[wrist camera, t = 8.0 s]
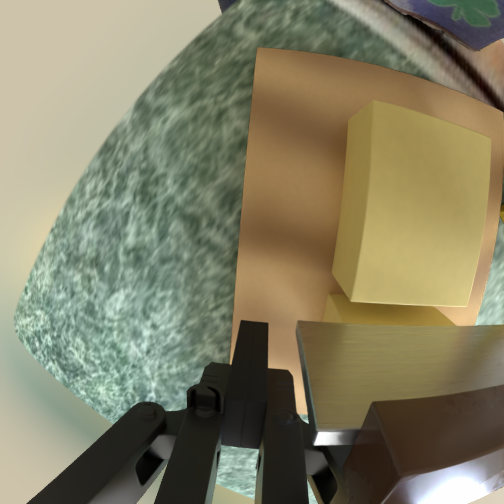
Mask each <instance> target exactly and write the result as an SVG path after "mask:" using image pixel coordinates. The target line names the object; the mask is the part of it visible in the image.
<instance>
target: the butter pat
mask: <svg viewBox="0 0 504 504" xmlns="http://www.w3.org/2000/svg"><path fill="white" fill-rule="evenodd" d="M323 322H331V323H348V324H369V325H399V326H457V325H456V324H454V323H453V322H452V321H451V320H450V319H449V318H447V317H446V316H445V315H444V314H443V313H441V312H440V311H439V310H438V309H437V308H435V307H434V306H421V305H401V304H382V303H366V302H351V301H350V300H349V299H348V297H347V296H346V295H344V294H332V293H328V296H327V302H326V307H325V313H324V318H323Z"/></svg>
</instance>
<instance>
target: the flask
mask: <svg viewBox="0 0 504 504" xmlns="http://www.w3.org/2000/svg"><path fill="white" fill-rule="evenodd" d="M384 1H385V2H386V3H388V4H389V5H390V6H392V7H393V8H394V9H396V10H398V11H399V12H401V13H403V14H405V15H407V14H409V15H411V16H413V17H415V18H417V19H418V20H420V21H422V22H423V23H425V24H427V25H428V26H430V27H432V28H434V29H438V30H442V31H444V32H446V35H447V36H451V37H454V38H455V39H456V40H457V41H458V42H459V43H461V44H463V45H465V46H466V47H467V48H468V49H470V50H471V51H480V49H482V48H484V47H486V46H488V45H489V44H491V43H493V42H495V41H497V40H499V39H502V38H504V0H384Z"/></svg>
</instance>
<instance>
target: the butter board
mask: <svg viewBox="0 0 504 504" xmlns="http://www.w3.org/2000/svg"><path fill="white" fill-rule="evenodd" d="M373 100H376V101H380V102H384V103H388V104H392V105H396V106H400V107H404V108H407V109H411V110H415V111H418V112H421V113H425V114H428V115H431V116H434V117H437V118H440V119H443V120H446V121H449V122H452V123H455V124H458V125H461V126H463V127H466V128H469V129H471V130H474V131H476V132H479V133H481V134H484V135H486V136H488V137H490V138H491V162H490V181H489V193H488V203H487V211H486V219H485V226H484V232H483V238H482V244H481V250H480V255H479V260H478V264H477V269H476V273H475V278H474V282H473V286H472V290H471V293H470V297H469V301H468V304H467V307H448V306H434V307H435V308H437V309H438V310H439V311H440V312H441V313H443V314H444V315H445V316H446V317H447V318H449V319H450V320H451V321H452V322H453V323H454V324H456V325H457V326H474V325H475V322H476V319H477V316H478V313H479V309H480V306H481V303H482V299H483V296H484V292H485V288H486V284H487V280H488V276H489V272H490V267H491V263H492V258H493V253H494V248H495V242H496V236H497V230H498V224H499V216H500V208H501V199H502V187H503V171H504V119H503V112H502V111H500V110H498V109H496V108H494V107H492V106H490V105H487V104H485V103H483V102H481V101H479V100H477V99H474V98H472V97H470V96H467V95H465V94H463V93H460V92H458V91H455V90H453V89H450V88H448V87H445V86H442V85H440V84H437V83H434V82H431V81H428V80H425V79H422V78H419V77H416V76H413V75H410V74H407V73H403V72H400V71H396V70H393V69H389V68H386V67H382V66H378V65H374V64H370V63H365V62H361V61H356V60H351V59H346V58H341V57H336V56H330V55H324V54H318V53H311V52H304V51H295V50H286V49H276V48H263V47H257V53H256V63H255V72H254V82H253V92H252V102H251V112H250V122H249V133H248V143H247V154H246V165H245V176H244V187H243V198H242V209H241V221H240V233H239V245H238V257H237V270H236V282H235V295H234V308H233V322H232V336H231V350H230V365H231V364H232V359H233V354H234V349H235V345H236V340H237V335H238V330H239V326H240V321H241V320H248V321H257V322H267V323H269V333H268V368H275V369H287V370H289V371H290V373H291V374H292V375H293V379H294V389H295V390H294V391H295V399H296V409H297V414H308V413H307V406H306V399H305V392H304V385H303V378H302V372H301V365H300V359H299V352H298V346H297V340H296V333H295V331H296V325H297V321H298V320H303V321H316V322H323V318H324V313H325V307H326V302H327V296H328V293H332V294H344V295H346V294H345V292H344V291H343V289H342V288H341V286H340V285H339V283H338V282H337V280H336V279H335V277H334V276H333V274H332V267H333V260H334V253H335V247H336V240H337V232H338V225H339V217H340V209H341V200H342V191H343V181H344V171H345V159H346V147H347V133H348V120H349V119H350V118H351V117H352V116H354V115H355V114H356V113H358V112H359V111H360V110H361V109H363V108H364V107H365V106H367V105H368V104H369V103H371V102H372V101H373Z"/></svg>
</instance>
